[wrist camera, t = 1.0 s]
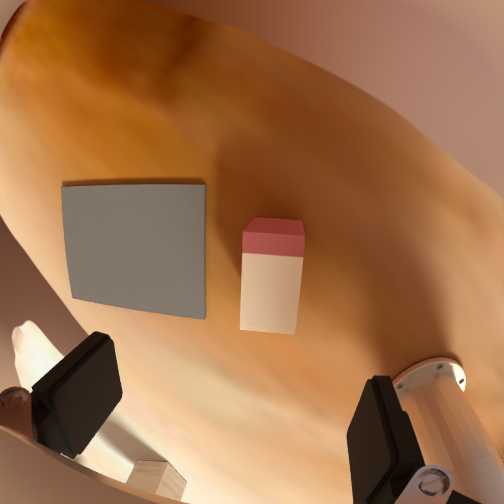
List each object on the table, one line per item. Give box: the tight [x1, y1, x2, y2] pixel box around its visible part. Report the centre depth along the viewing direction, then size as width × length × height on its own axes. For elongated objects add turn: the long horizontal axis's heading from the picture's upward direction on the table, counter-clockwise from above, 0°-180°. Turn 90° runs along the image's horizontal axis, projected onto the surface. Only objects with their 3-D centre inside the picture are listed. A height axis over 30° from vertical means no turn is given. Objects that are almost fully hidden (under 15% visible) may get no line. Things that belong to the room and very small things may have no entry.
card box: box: [240, 217, 305, 334], centre depth 27 cm, size 8×4×7 cm, turn 178°
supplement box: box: [126, 460, 187, 501], centre depth 37 cm, size 7×7×13 cm
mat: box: [61, 184, 206, 320], centre depth 31 cm, size 14×18×1 cm
